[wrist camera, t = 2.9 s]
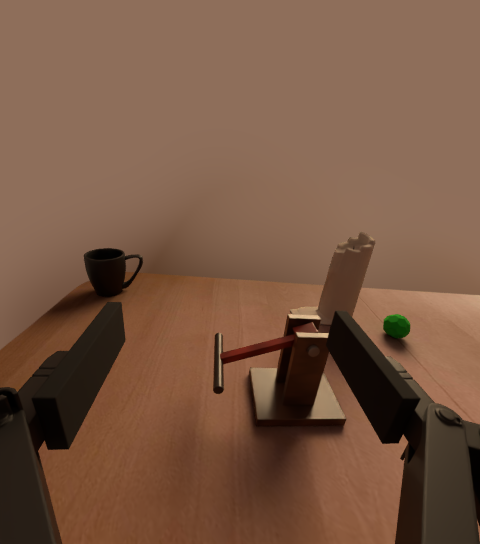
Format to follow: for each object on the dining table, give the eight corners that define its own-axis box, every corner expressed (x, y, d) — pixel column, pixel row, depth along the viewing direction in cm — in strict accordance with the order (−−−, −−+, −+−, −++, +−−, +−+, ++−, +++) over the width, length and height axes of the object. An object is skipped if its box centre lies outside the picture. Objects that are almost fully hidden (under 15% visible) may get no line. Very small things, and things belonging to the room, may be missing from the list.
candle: (288, 305, 63) (303, 225, 55) (343, 309, 63) (366, 230, 56) (294, 322, 56) (312, 234, 48) (355, 327, 57) (383, 240, 49)
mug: (144, 296, 61) (142, 259, 57) (86, 301, 57) (80, 261, 53) (144, 281, 68) (141, 247, 64) (92, 284, 64) (87, 248, 60)
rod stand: (256, 426, 33) (269, 347, 28) (248, 373, 41) (258, 305, 36) (344, 425, 34) (371, 350, 29) (320, 374, 43) (338, 308, 38)
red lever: (216, 398, 30) (210, 384, 29) (217, 343, 39) (212, 330, 38) (333, 369, 30) (330, 353, 29) (306, 319, 39) (303, 306, 38)
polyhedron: (400, 330, 57) (407, 312, 55) (410, 344, 53) (418, 325, 51) (376, 326, 58) (383, 308, 56) (384, 340, 53) (392, 321, 51)
